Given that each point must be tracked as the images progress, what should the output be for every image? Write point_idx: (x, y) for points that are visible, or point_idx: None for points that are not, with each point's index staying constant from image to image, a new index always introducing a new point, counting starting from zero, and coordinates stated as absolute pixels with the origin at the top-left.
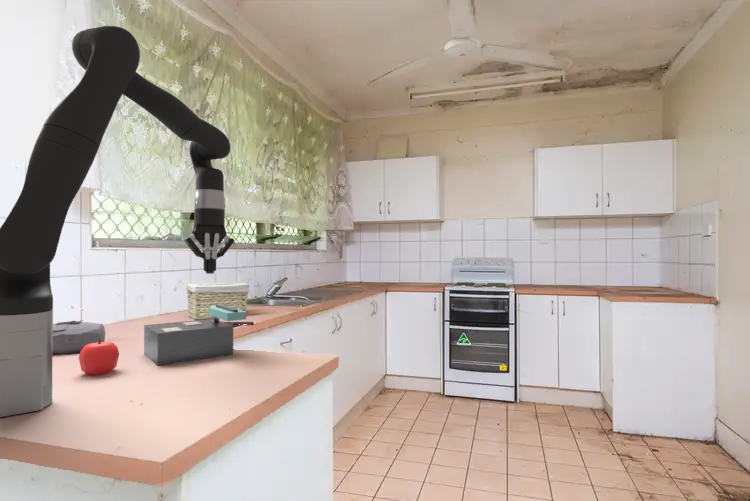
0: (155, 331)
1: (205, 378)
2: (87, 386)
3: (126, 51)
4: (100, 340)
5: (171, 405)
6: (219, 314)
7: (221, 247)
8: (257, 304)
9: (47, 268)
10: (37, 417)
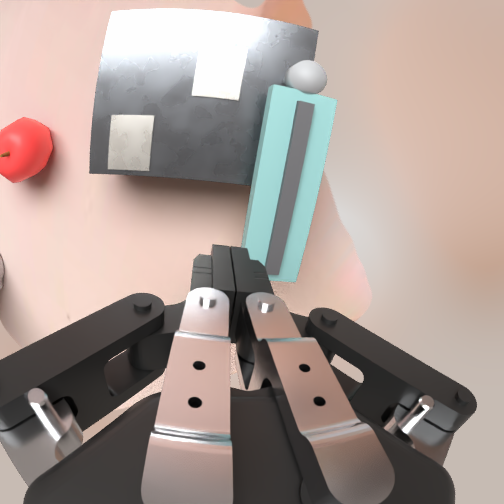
0: (93, 137)
1: (158, 295)
2: (23, 222)
3: None
4: (4, 155)
5: None
6: (249, 206)
7: (367, 374)
8: None
9: None
10: (5, 301)
